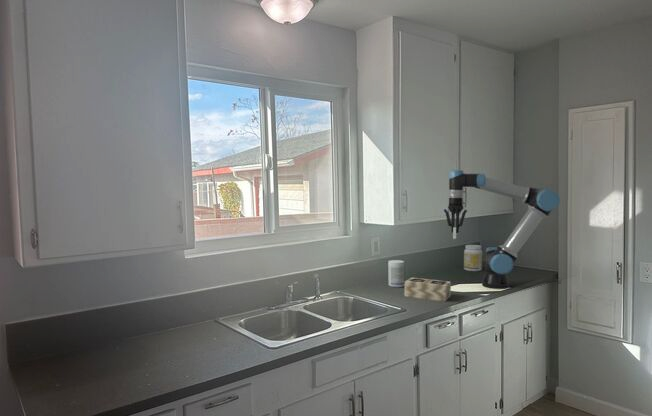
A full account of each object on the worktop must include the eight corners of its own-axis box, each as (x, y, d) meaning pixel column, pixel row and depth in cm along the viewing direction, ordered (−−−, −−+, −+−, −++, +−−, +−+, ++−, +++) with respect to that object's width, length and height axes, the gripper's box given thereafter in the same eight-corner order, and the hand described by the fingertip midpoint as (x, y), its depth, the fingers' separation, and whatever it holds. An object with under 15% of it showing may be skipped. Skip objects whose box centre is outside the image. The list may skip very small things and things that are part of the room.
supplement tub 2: (470, 267, 332) (471, 244, 331) (485, 270, 322) (486, 246, 321) (459, 269, 325) (460, 245, 324) (474, 272, 315) (475, 247, 314)
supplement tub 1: (407, 286, 274) (408, 261, 273) (395, 288, 269) (396, 263, 268) (396, 283, 282) (397, 259, 281) (384, 285, 277) (385, 260, 276)
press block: (450, 296, 252) (450, 281, 251) (445, 301, 241) (445, 285, 240) (411, 291, 262) (411, 277, 261) (404, 296, 251) (404, 281, 251)
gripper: (442, 197, 264) (441, 238, 265) (466, 197, 258) (465, 240, 259) (445, 196, 270) (445, 237, 272) (468, 197, 264) (467, 238, 266)
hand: (454, 238), depth 265 cm, fingers closed
